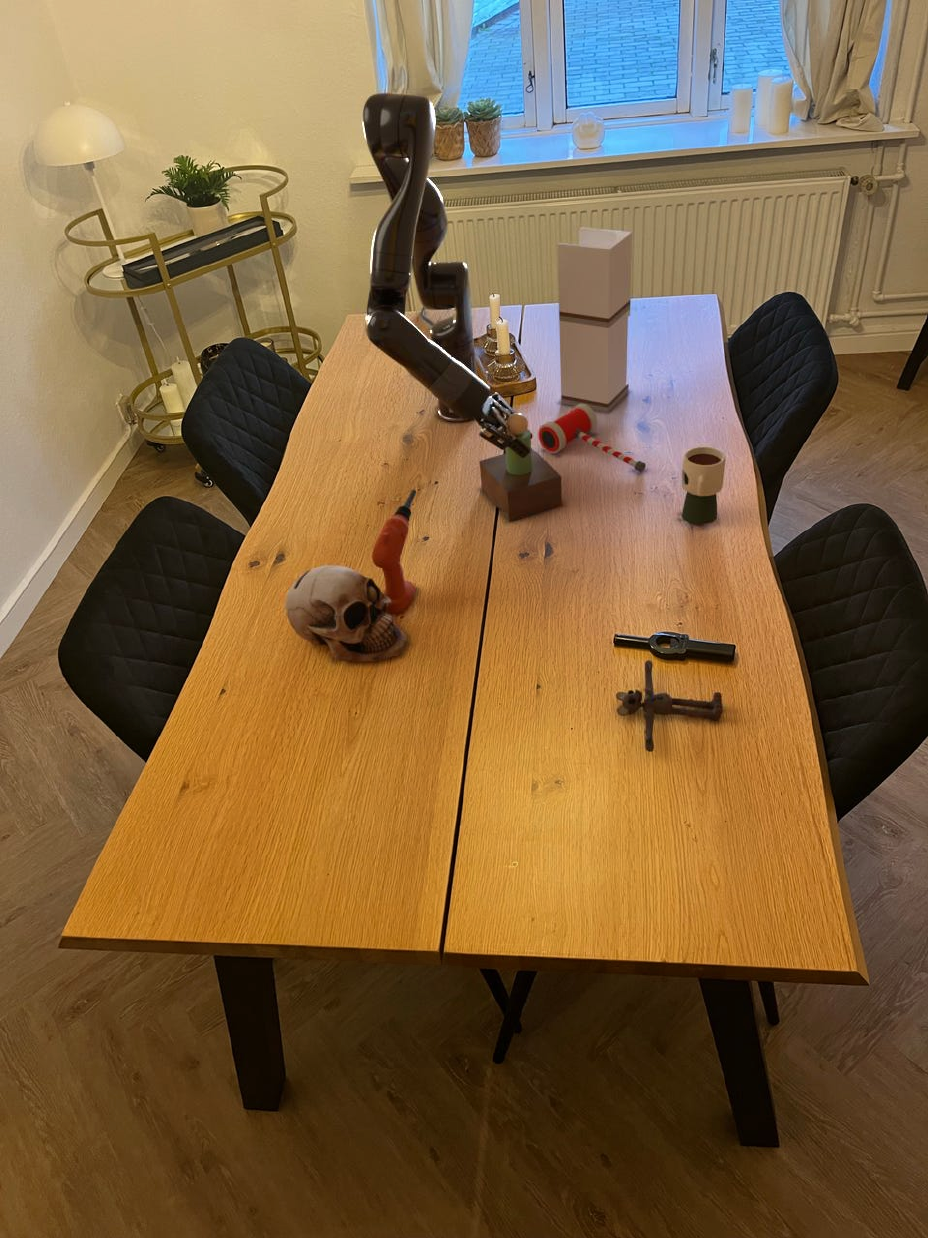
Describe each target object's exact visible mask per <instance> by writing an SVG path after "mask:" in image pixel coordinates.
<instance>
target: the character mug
mask: <svg viewBox="0 0 928 1238" xmlns="http://www.w3.org/2000/svg"><path fill="white" fill-rule="evenodd" d="M682 458H683V459H682V469H681V470H682V471H681V487H682V488H683V490H684V491H686V494H685V498H684V502H683V507H682V513H681V518H682V519H683V521H684V522H686V523H688V524H689V525H707V524H712V523H714V522H715V521H716V520H717V519H718V498H717V494H719V493H720V492H721V491H722V490H723V486H724V479H725V470H726V469H725V468H726V460H727V459H726V458H727V457H726V454H725V452H724V451H722V450H721V449H719V448H717V447H715V446H708V445H701V446H700V445H699V446H694V447H691V448H689V449H686V451H685V452H684V453H683V457H682Z"/></svg>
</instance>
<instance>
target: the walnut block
mask: <svg viewBox="0 0 928 1238" xmlns="http://www.w3.org/2000/svg"><path fill="white" fill-rule="evenodd" d="M531 453H532V470H531V471H530V472H529V473H527V474H523V475H513V474H511V473H509V472H508V471H507V464H506V452H505V453H502V454H497V455H495V456H492V457H489V458H486V459H481V460H479V471H480V482H481V491H483V492H484V494H485V495H486V496H487V497H488V498H489V500H490V501H491V502H492V503H493V504H494V505H495V506H496V508H497V509H498V510H499V511H500V512H501V513H502V515H503V516H504V517H505V518H506V519H507V521H508V522H513V521H516V520H519V519H522V518H526V517H529V516H532V515H535V514H538V513H542V512H545V511H548V510H551V509H554V508H558V507H561V506H562V505H563V501H562V500H563V499H562V498H563V496H562V475H561V474H560V473H559V472H558V471H557V470H556V469H554V467H553V466H552V465H550V463H548V461H547V460H545V458H544V457H542V455H540V453H539V452H537V450H536V449H534V448H533V446H531Z"/></svg>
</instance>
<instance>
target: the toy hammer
mask: <svg viewBox="0 0 928 1238" xmlns="http://www.w3.org/2000/svg"><path fill="white" fill-rule="evenodd" d="M597 427H598V418H597V415H596V413H595V410H592V409H591V408H590V407H589V406H588V405H586V404H578V405H577V406H573V407H572V408H571V409H570V411H568V413H565V414H564V415H562V416H560V417H559V418H557V419H555V420H554V421H547V422H545V423H543V424H541V425H540V426H539V428H538V430H537V437H538V441H539V443H540V445H541V446H542V448H543V450H545V451H546V452H547V453H549V454H557V453H559V452H561V451H562V450H564V449H565V447H566V445H568V444H570V443H571V442H573V441H574V440H576V439H579V440H582V441H584V442H585V443H588V444H589V445H592V446H593V447H595V448H597V449H599V450H601V451H603V452H604V453H606V454H609V455H611V456H612V457H614V458H616V459H618V460H619V461H622V462H623V463H626V464H628V465H629V466H631V467H632V468H634V470H636V471H637V472H639V473H642V472H643V471H644V470H645V468H646V462H643V461H642V460H637V459H634V458H633V457H631V456H629V455H626V454H625V453H623V452H621V451H619V450H617V449H615V448H613V447H612V446H609V445H607V444H606V443H603V441H600V440H598V439H596V438H594V437H592V436H590V435H589V434H591V433H593V432H594V431H595V430H596V429H597Z"/></svg>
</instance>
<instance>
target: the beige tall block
mask: <svg viewBox="0 0 928 1238" xmlns="http://www.w3.org/2000/svg"><path fill="white" fill-rule="evenodd" d="M578 231H579V244H578V243H567V242H560V241H559V242H558V243H556V245H557V246H556V248H557V249H556V250H557V284H558V285H557V286H558V289H557V290H558V320H559V321H558V324H559V325H558V326H559V327H558V328H559V358H560V359H559V360H560V361H559V363H560V365H559V366H560V398H561V399H560V400H561V401H560V403H561V404H562V405H568V406H573V407H575V406H577V405H578V404H586V405H588V406H589V407H590V408H591V409H592V410H593V411H597V412H601V413H602V412H603V413H607V414H608V413H609V412H610V411H611V410H612V409H613V408H614V407H615V406H616V405H617V404H618V403H619V402H620V401H621V400H622V399H623V398H625V396H626V395H627V394H628V393H629V383H628V382H627V379H628V378H627V376H628V375H627V373H628V371H627V370H628V334H629V333H628V331H629V317H630V316H631V303H632V302H631V300H632V297H631V295H632V292H631V291H632V259H633V257H632V256H633V231H627V230H626V231H625V230H618V229H617V230H615V229H605V228H597V227H596V228H595V227H583V226H581V227H579V229H578Z"/></svg>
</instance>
